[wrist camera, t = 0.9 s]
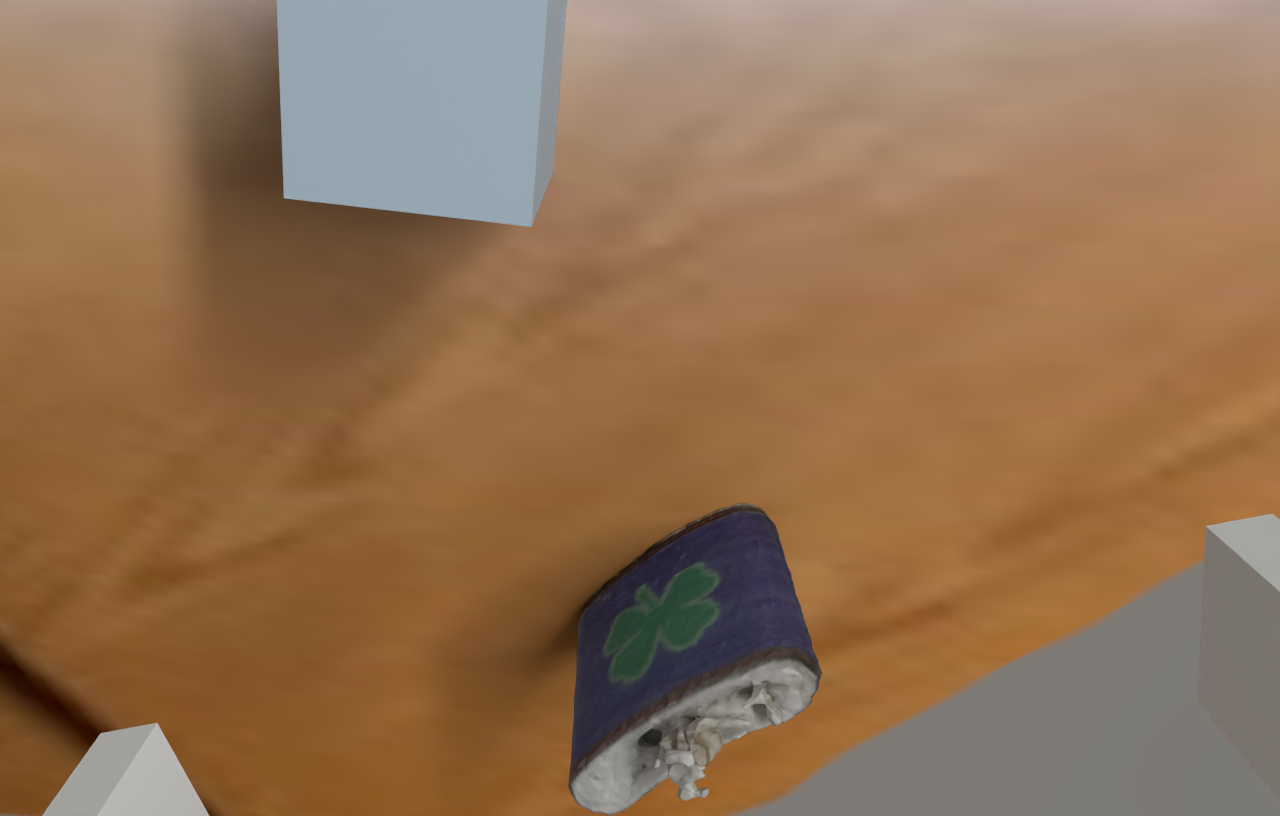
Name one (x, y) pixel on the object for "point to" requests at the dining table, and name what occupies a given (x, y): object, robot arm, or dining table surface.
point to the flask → (686, 659)
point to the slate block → (421, 104)
